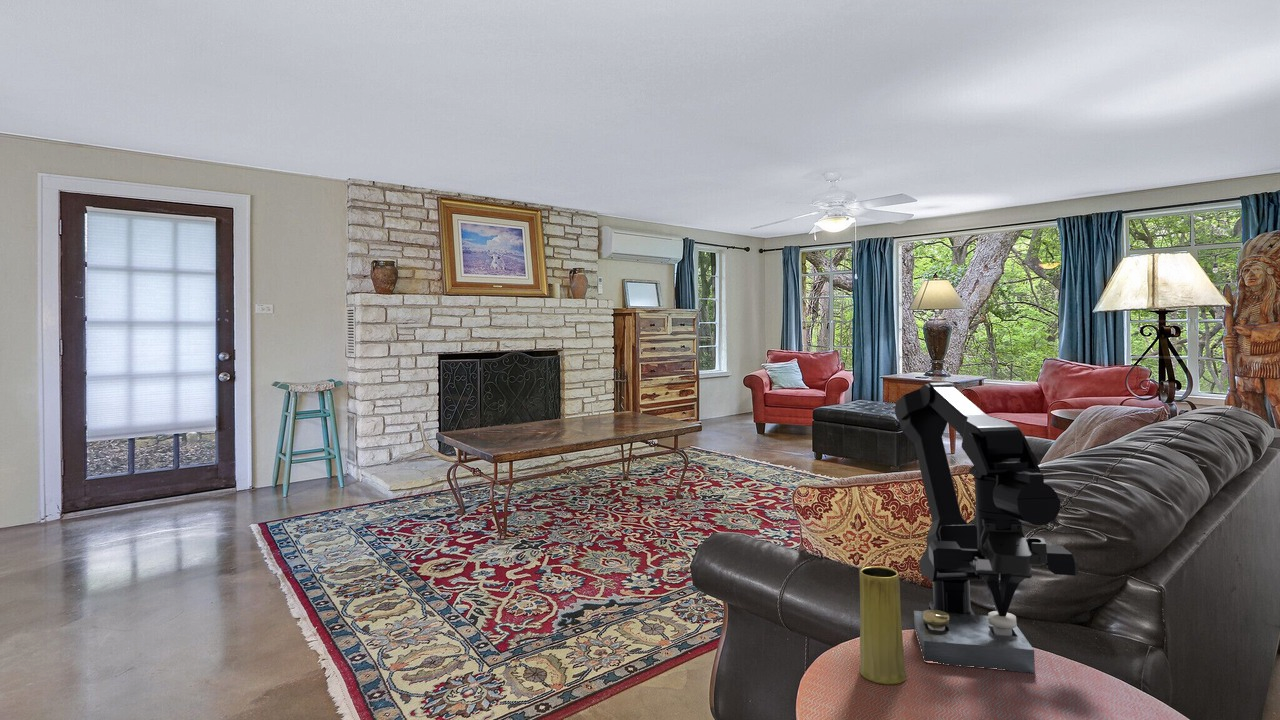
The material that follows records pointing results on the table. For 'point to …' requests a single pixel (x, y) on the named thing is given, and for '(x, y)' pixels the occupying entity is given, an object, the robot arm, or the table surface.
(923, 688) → the table surface
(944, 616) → the knob brass
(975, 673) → the table surface
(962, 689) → the table surface
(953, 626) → the mount
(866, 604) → the vase
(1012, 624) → the knob ivory
